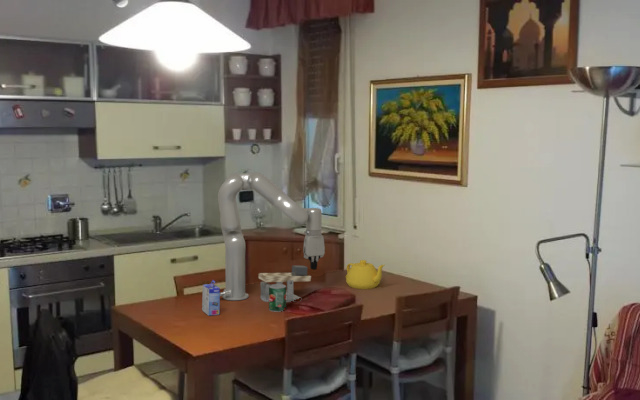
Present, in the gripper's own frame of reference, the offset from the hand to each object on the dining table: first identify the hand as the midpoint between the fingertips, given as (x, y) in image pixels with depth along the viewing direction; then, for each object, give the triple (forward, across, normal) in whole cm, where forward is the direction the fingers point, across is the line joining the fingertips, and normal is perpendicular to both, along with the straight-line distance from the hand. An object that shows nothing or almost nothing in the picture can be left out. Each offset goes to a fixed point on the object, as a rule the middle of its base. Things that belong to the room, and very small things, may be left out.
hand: (313, 269), depth 326 cm
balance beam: (+4, -16, 0) cm, 16 cm away
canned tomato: (+13, -28, -17) cm, 35 cm away
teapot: (+13, +32, +3) cm, 35 cm away
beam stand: (+13, -19, 0) cm, 23 cm away
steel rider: (+3, -8, 0) cm, 9 cm away
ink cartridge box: (+13, -57, -8) cm, 59 cm away
